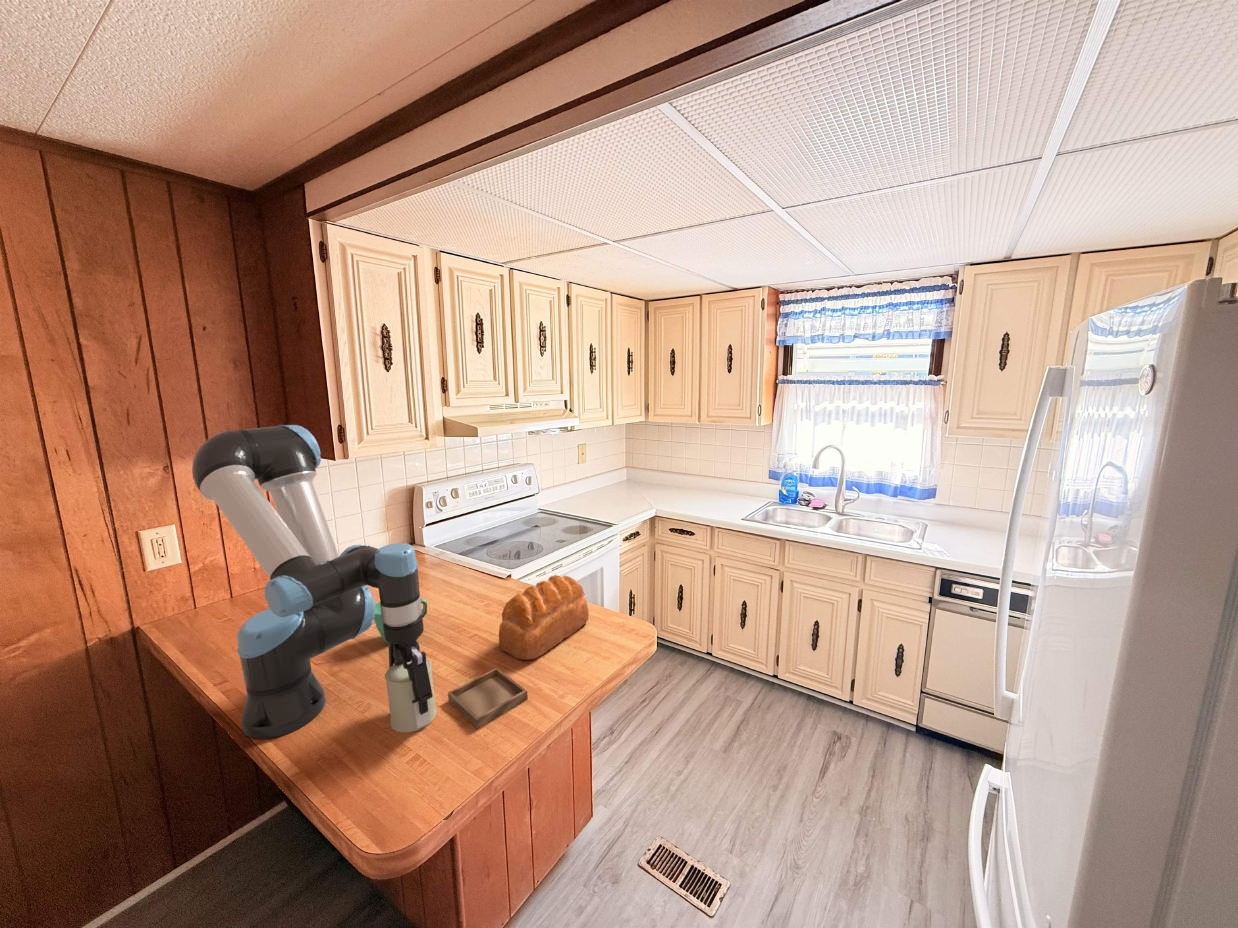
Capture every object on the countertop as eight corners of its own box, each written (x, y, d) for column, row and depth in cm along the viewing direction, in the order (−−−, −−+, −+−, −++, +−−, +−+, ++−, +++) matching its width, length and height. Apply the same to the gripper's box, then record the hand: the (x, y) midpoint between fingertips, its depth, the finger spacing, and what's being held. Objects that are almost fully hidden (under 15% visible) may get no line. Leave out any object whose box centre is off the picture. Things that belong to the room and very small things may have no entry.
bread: (493, 649, 129) (489, 596, 126) (559, 608, 151) (557, 562, 148) (530, 666, 122) (527, 610, 118) (594, 621, 143) (593, 572, 140)
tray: (477, 728, 101) (476, 720, 100) (448, 700, 109) (447, 692, 109) (527, 698, 109) (527, 690, 109) (497, 675, 118) (496, 667, 118)
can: (408, 739, 98) (402, 687, 96) (381, 722, 103) (375, 672, 101) (445, 711, 106) (440, 663, 103) (419, 697, 111) (414, 650, 108)
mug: (380, 652, 128) (375, 618, 126) (371, 637, 136) (366, 604, 134) (435, 633, 137) (432, 601, 136) (424, 619, 145) (420, 589, 143)
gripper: (444, 629, 95) (453, 728, 99) (399, 595, 110) (409, 683, 114) (406, 645, 90) (418, 749, 94) (364, 607, 104) (376, 698, 109)
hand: (413, 713), depth 104 cm, fingers closed on can, 9 cm apart
